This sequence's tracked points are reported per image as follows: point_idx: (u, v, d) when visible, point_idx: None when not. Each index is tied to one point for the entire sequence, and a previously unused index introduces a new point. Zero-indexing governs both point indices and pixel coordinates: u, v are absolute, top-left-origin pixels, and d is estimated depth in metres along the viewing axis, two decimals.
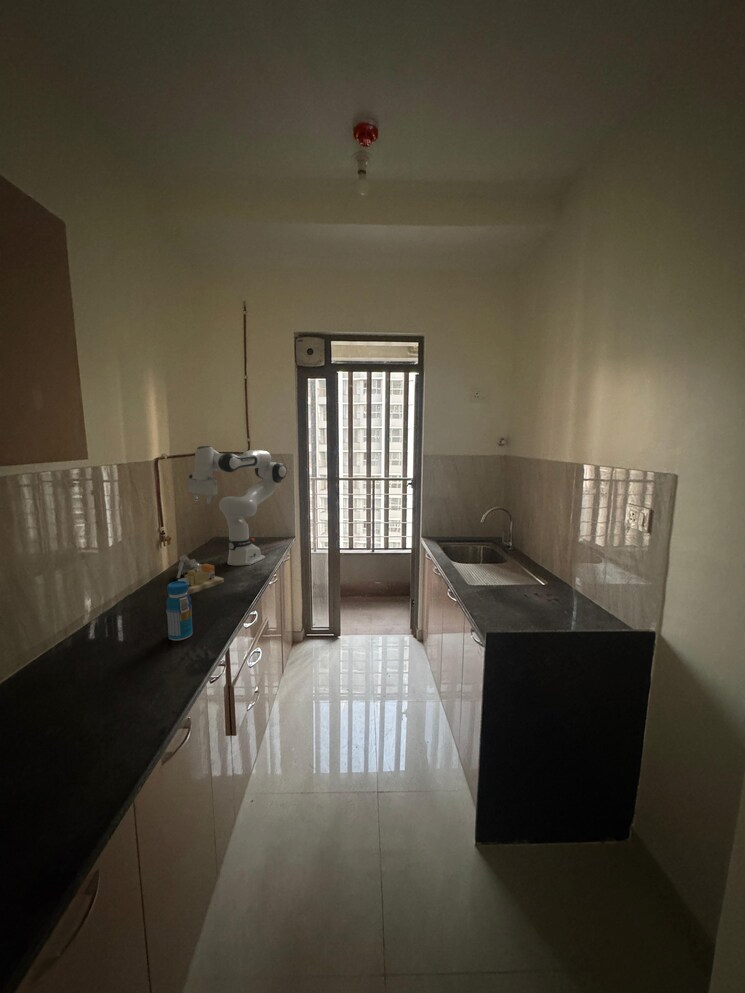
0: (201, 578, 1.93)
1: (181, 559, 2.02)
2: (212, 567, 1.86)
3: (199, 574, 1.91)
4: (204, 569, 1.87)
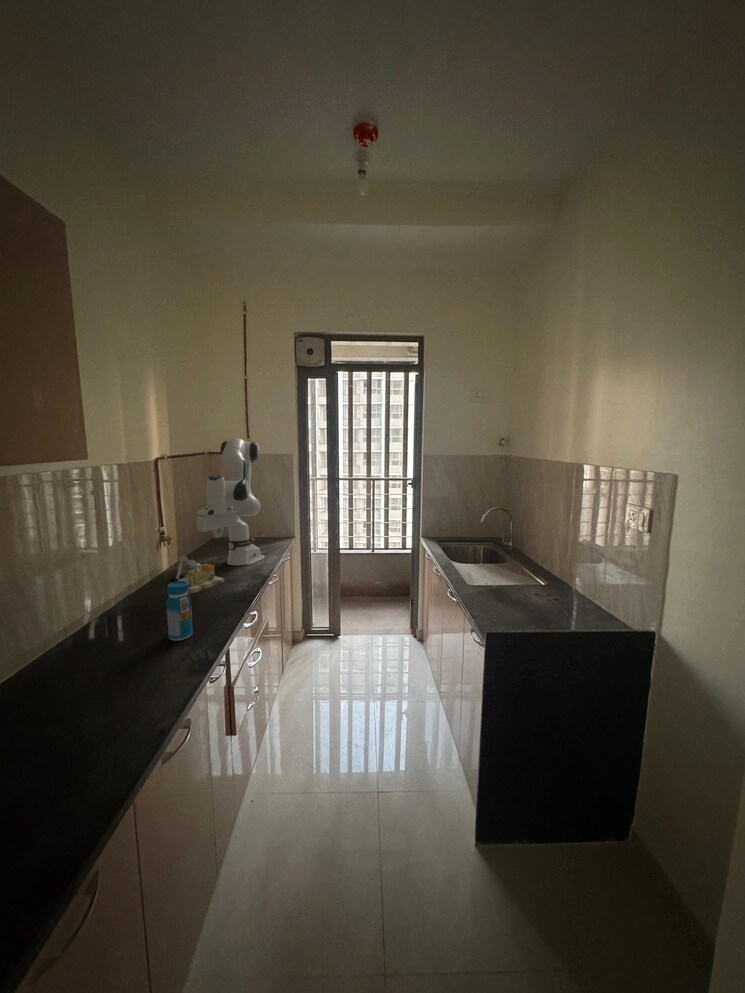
0: (201, 578, 1.93)
1: (180, 560, 2.01)
2: (212, 567, 1.86)
3: (199, 574, 1.91)
4: (204, 569, 1.87)
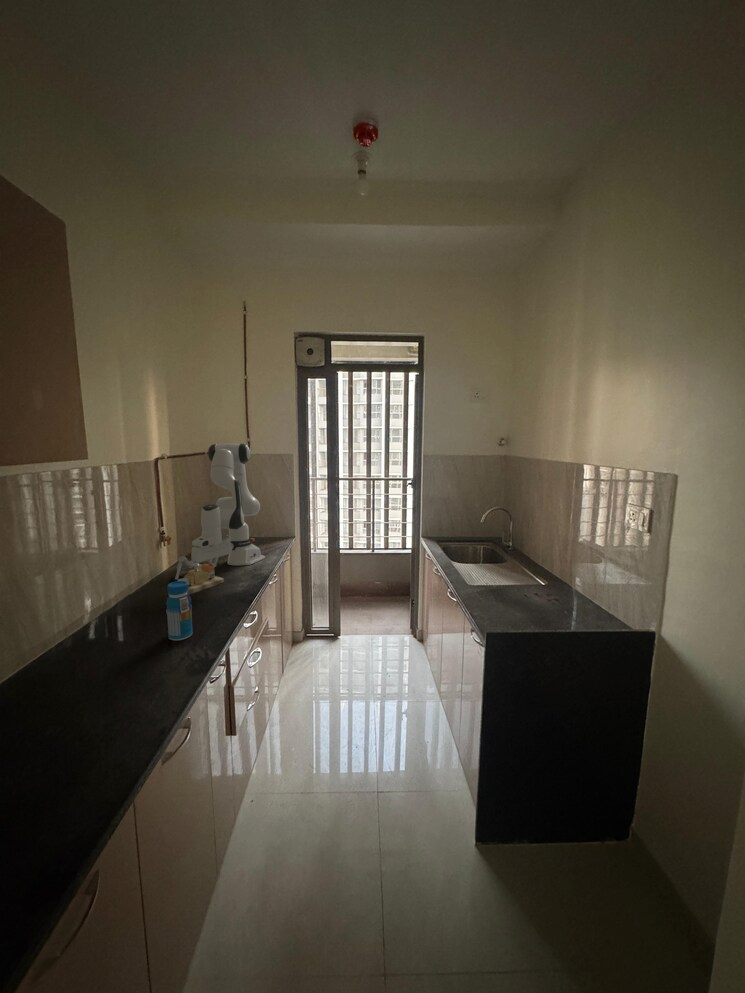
0: (201, 578, 1.93)
1: (179, 560, 2.00)
2: (212, 567, 1.86)
3: (199, 574, 1.91)
4: (204, 569, 1.87)
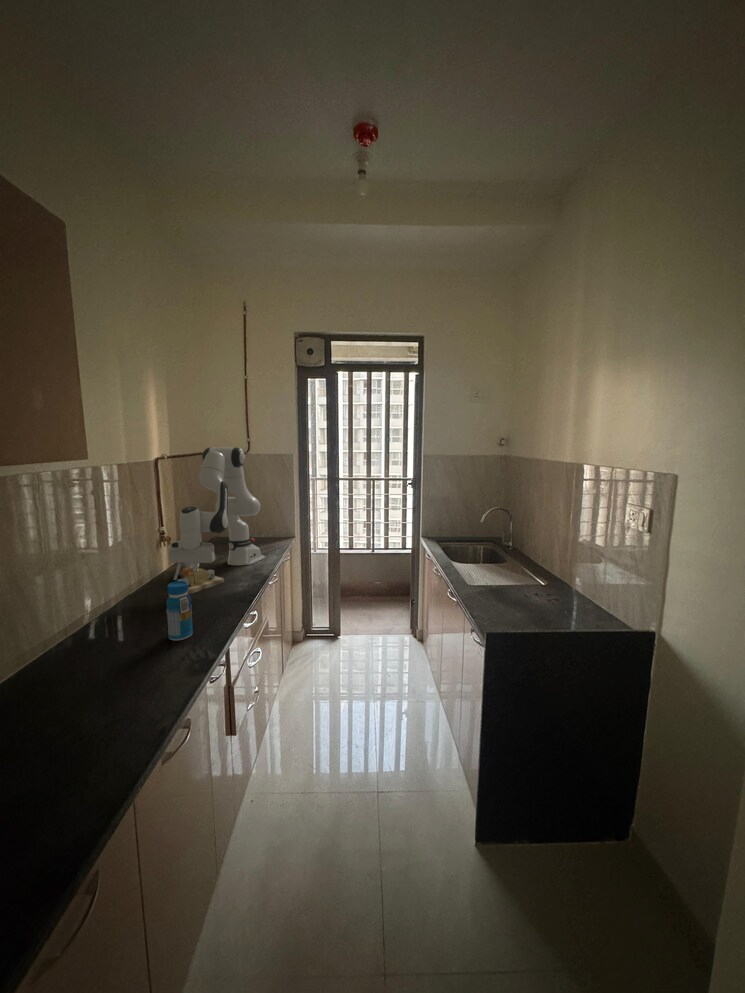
0: (201, 578, 1.93)
1: None
2: (186, 571, 1.80)
3: (199, 574, 1.91)
4: None
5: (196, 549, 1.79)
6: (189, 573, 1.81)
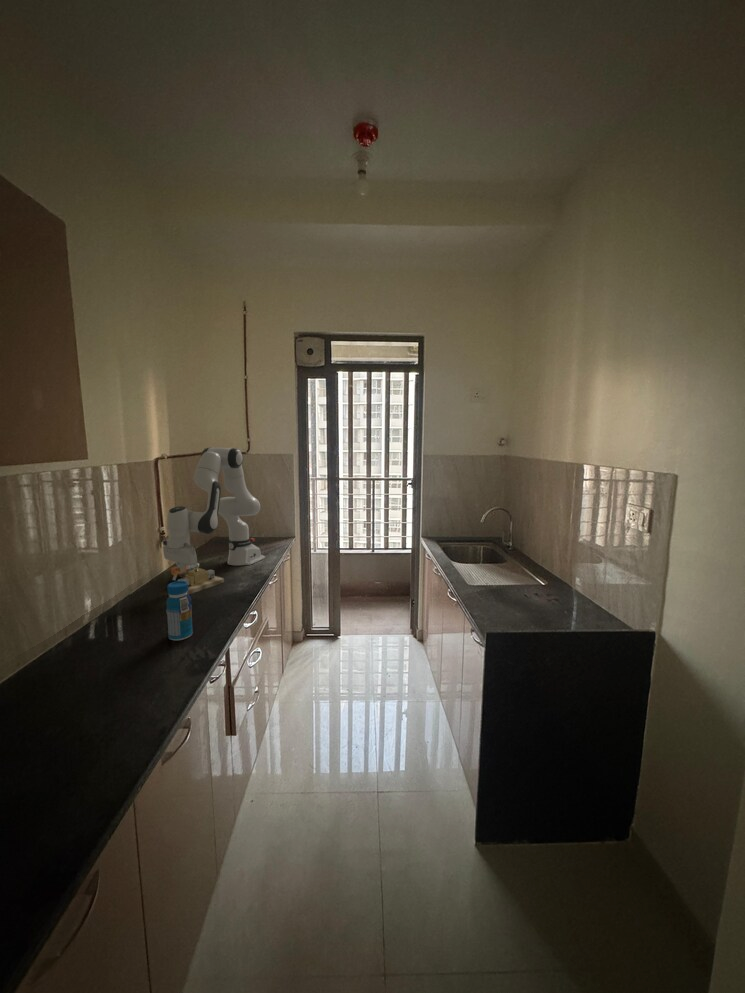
0: (201, 578, 1.93)
1: None
2: (173, 570, 1.82)
3: (199, 574, 1.91)
4: None
5: (180, 549, 1.78)
6: (176, 572, 1.82)
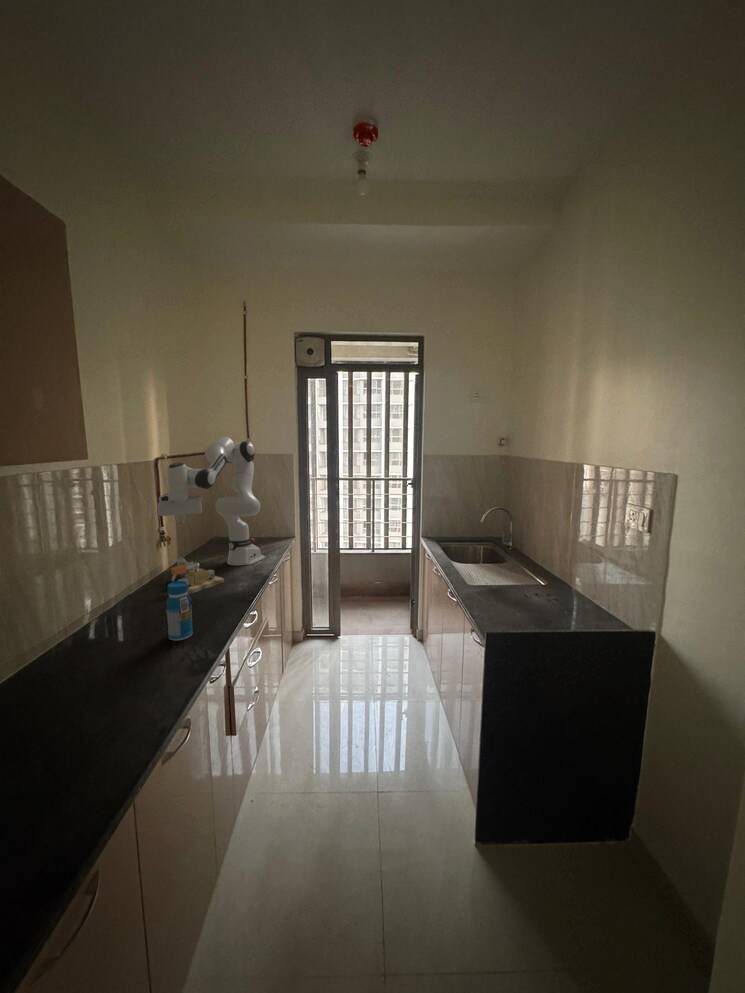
0: (201, 578, 1.93)
1: (178, 561, 1.98)
2: (173, 570, 1.82)
3: (199, 574, 1.91)
4: None
5: (185, 501, 1.94)
6: (176, 572, 1.82)
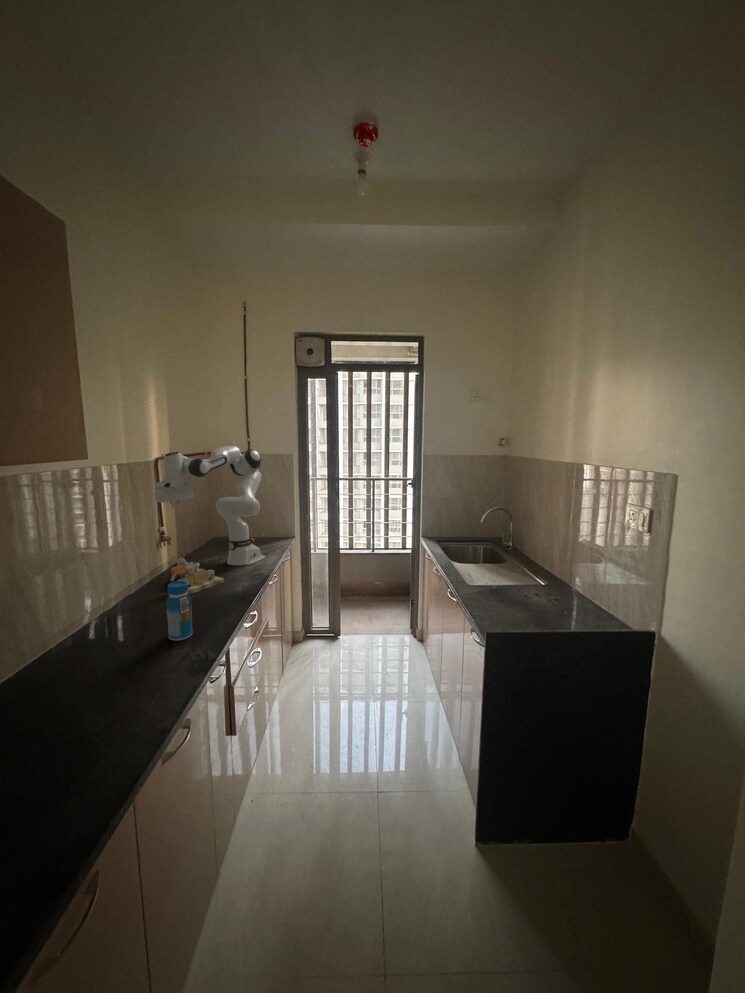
0: (201, 578, 1.93)
1: (178, 561, 1.98)
2: (173, 570, 1.82)
3: (199, 574, 1.91)
4: None
5: (182, 487, 2.10)
6: (176, 572, 1.82)
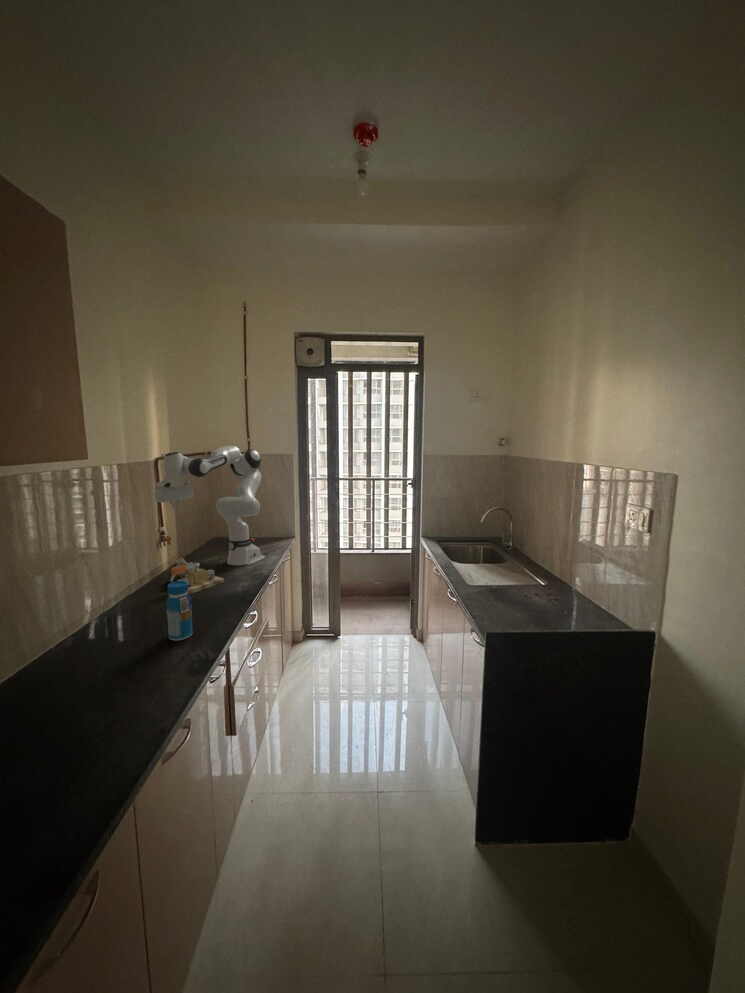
0: (201, 578, 1.93)
1: (177, 562, 1.97)
2: (173, 570, 1.82)
3: (199, 574, 1.91)
4: None
5: (182, 487, 2.10)
6: (176, 572, 1.82)
